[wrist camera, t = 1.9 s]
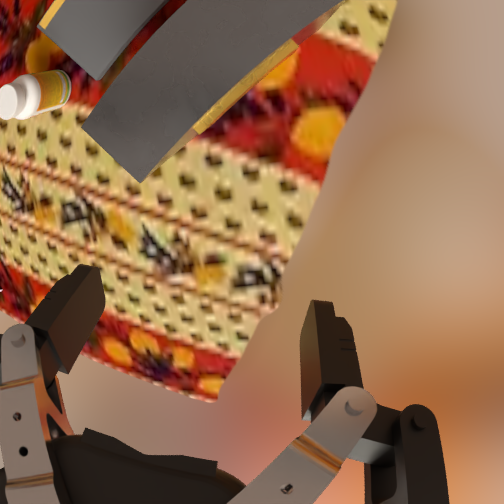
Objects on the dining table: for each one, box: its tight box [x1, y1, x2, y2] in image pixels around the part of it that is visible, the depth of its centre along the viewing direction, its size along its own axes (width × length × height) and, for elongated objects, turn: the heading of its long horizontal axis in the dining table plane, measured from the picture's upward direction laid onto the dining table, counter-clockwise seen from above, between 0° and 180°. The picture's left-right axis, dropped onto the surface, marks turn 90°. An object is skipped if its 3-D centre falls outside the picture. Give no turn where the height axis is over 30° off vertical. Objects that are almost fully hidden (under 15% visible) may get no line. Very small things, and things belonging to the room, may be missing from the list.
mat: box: [37, 0, 169, 80], centre depth 24 cm, size 14×14×1 cm
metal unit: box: [81, 0, 346, 183], centre depth 22 cm, size 7×18×16 cm, turn 133°
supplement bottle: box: [0, 70, 71, 120], centre depth 26 cm, size 5×5×10 cm
